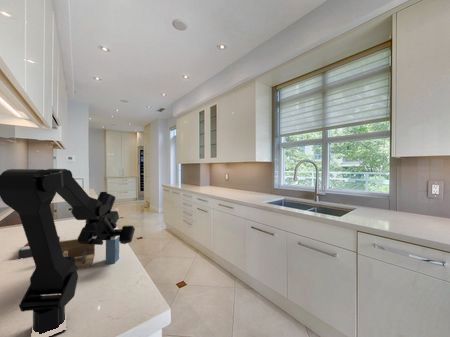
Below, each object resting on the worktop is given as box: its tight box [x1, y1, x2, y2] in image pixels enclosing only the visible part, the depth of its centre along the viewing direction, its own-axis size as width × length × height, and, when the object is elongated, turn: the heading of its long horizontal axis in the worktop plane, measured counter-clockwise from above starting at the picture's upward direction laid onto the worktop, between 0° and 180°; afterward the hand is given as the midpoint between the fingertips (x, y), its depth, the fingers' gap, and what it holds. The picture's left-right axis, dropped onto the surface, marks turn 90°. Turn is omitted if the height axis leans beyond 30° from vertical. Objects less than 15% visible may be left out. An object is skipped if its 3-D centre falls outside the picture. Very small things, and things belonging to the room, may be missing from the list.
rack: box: [59, 238, 96, 269], centre depth 77 cm, size 11×14×8 cm
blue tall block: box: [105, 236, 120, 264], centre depth 80 cm, size 4×4×12 cm
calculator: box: [17, 236, 61, 260], centre depth 90 cm, size 11×4×15 cm
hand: (114, 243), depth 81 cm, fingers open, 9 cm apart
